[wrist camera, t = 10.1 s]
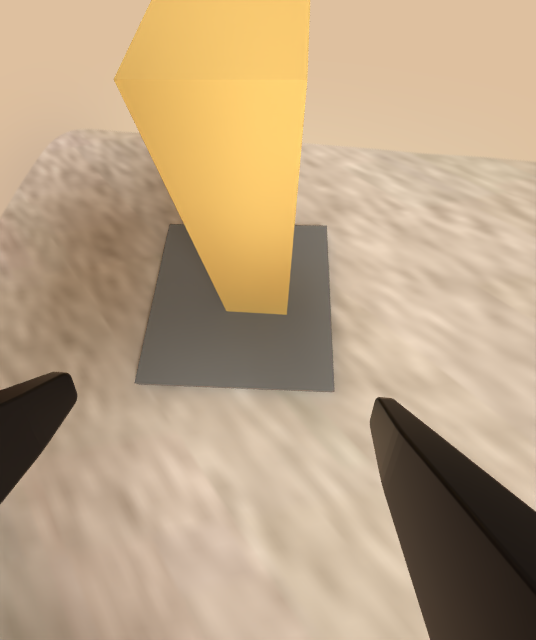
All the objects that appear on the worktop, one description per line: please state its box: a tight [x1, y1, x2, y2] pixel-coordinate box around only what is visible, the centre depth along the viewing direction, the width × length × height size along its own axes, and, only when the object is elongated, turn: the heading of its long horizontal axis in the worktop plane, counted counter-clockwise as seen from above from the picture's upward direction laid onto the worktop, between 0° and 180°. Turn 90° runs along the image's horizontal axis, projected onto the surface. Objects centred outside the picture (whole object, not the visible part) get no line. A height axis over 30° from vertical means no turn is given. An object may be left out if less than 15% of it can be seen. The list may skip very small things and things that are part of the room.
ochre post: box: [114, 0, 310, 315], centre depth 12 cm, size 4×4×12 cm
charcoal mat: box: [135, 224, 334, 392], centre depth 18 cm, size 12×12×1 cm
